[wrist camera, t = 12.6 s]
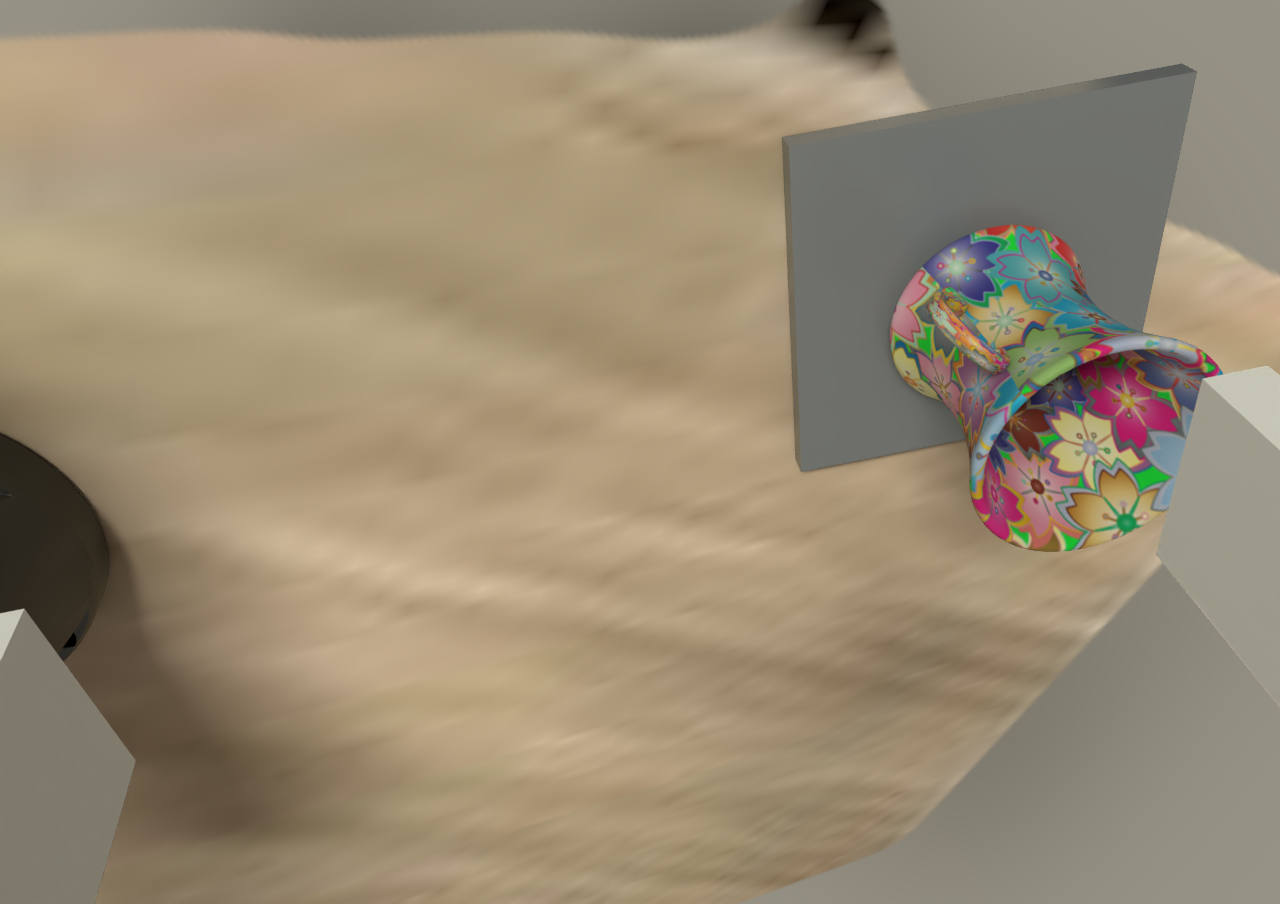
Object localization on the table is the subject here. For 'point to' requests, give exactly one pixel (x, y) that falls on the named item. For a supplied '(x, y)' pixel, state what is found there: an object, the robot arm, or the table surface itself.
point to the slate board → (961, 232)
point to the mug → (1047, 389)
